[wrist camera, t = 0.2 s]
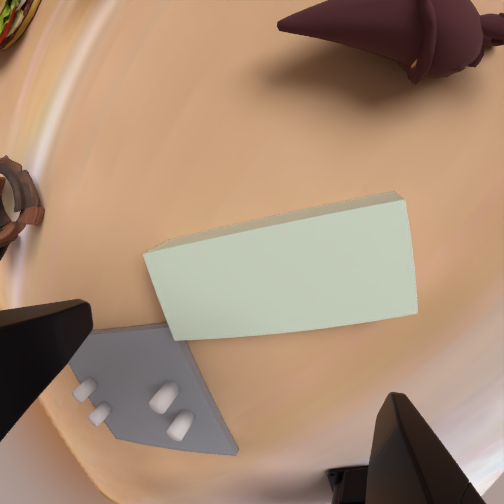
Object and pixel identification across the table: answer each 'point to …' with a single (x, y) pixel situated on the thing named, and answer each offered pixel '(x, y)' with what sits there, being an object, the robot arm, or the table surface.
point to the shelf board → (289, 271)
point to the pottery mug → (17, 202)
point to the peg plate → (149, 390)
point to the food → (15, 19)
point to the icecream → (405, 31)
